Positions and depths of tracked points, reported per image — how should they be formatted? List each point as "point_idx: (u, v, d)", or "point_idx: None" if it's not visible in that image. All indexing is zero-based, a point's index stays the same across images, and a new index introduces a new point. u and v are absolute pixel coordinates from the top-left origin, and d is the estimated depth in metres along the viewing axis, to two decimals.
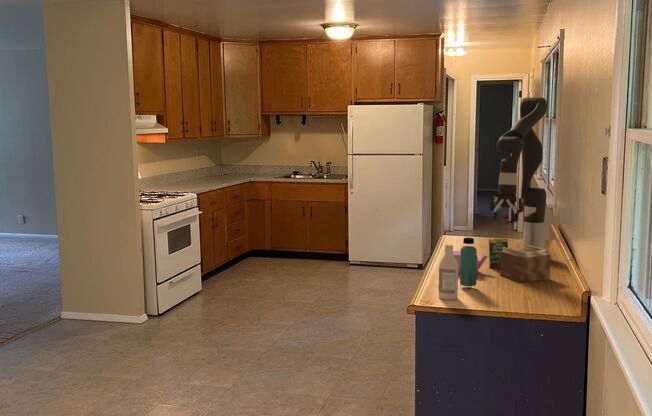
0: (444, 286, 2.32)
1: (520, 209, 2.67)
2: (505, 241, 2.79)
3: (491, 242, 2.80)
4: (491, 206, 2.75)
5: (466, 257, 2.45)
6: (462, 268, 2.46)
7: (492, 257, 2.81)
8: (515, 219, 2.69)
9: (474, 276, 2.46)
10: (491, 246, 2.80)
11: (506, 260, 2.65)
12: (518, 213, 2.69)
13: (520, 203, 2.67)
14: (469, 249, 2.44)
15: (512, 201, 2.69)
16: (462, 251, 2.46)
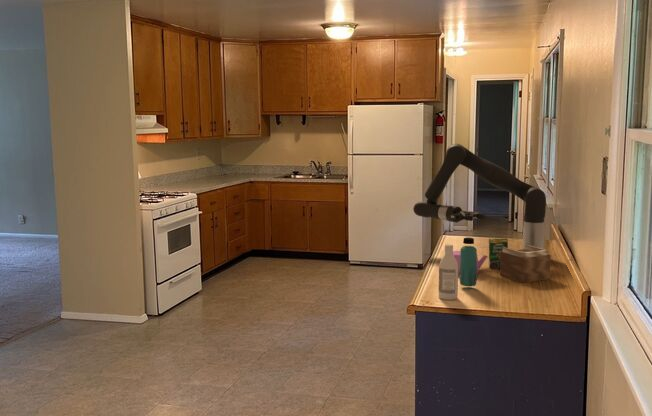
0: (444, 286, 2.32)
1: (459, 220, 2.88)
2: (505, 241, 2.79)
3: (491, 242, 2.80)
4: (475, 217, 2.97)
5: (466, 257, 2.45)
6: (462, 268, 2.46)
7: (492, 257, 2.81)
8: (469, 220, 2.86)
9: (474, 276, 2.46)
10: (491, 246, 2.80)
11: (506, 260, 2.65)
12: (464, 217, 2.88)
13: None
14: (469, 249, 2.44)
15: (458, 218, 2.93)
16: (462, 251, 2.46)
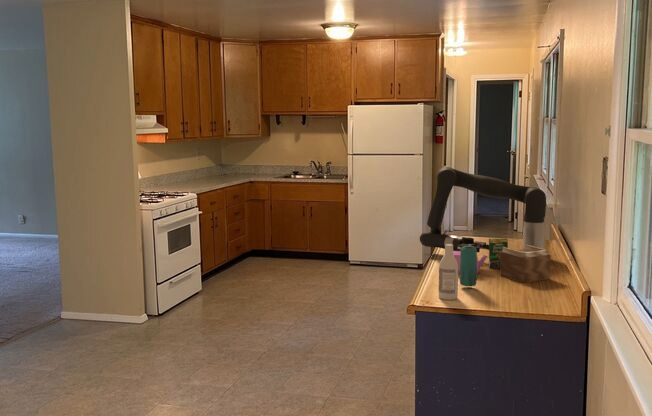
0: (444, 286, 2.32)
1: None
2: (505, 241, 2.79)
3: (491, 242, 2.80)
4: None
5: (466, 257, 2.45)
6: (462, 268, 2.46)
7: (492, 257, 2.81)
8: None
9: (474, 276, 2.46)
10: (491, 246, 2.80)
11: (506, 260, 2.65)
12: None
13: None
14: (469, 249, 2.44)
15: None
16: (462, 251, 2.46)
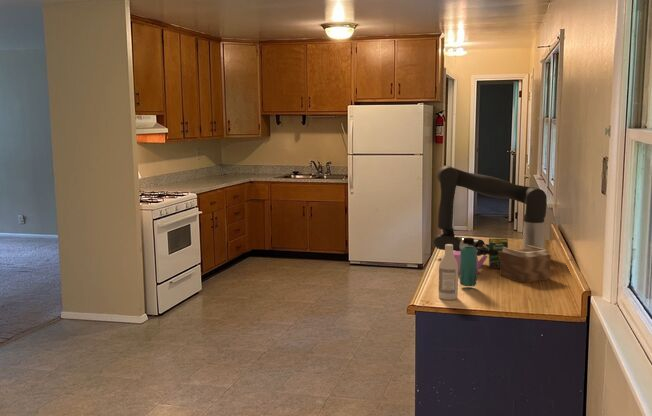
0: (444, 286, 2.32)
1: (483, 254, 2.80)
2: (505, 241, 2.79)
3: (491, 242, 2.80)
4: None
5: (466, 257, 2.45)
6: (462, 268, 2.46)
7: (492, 257, 2.81)
8: (494, 254, 2.78)
9: (474, 276, 2.46)
10: (491, 246, 2.80)
11: (506, 260, 2.65)
12: (488, 252, 2.80)
13: (478, 253, 2.82)
14: (469, 249, 2.44)
15: (481, 252, 2.85)
16: (462, 251, 2.46)
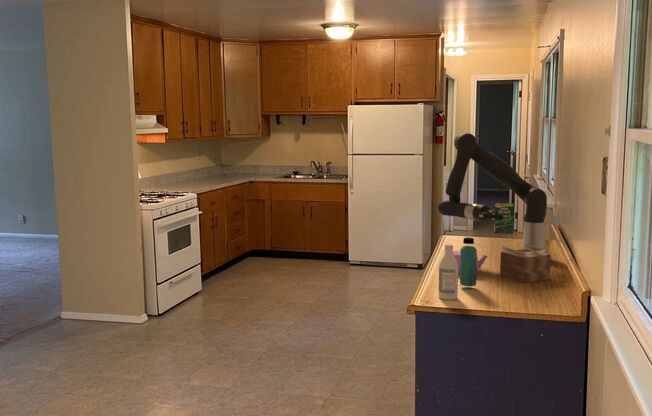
0: (444, 286, 2.32)
1: None
2: (511, 205, 2.74)
3: (496, 206, 2.75)
4: None
5: (466, 257, 2.45)
6: (462, 268, 2.46)
7: (497, 222, 2.76)
8: (499, 219, 2.73)
9: (474, 276, 2.46)
10: (496, 211, 2.75)
11: (506, 260, 2.65)
12: (494, 216, 2.74)
13: (483, 218, 2.77)
14: (469, 249, 2.44)
15: (486, 217, 2.80)
16: (462, 251, 2.46)
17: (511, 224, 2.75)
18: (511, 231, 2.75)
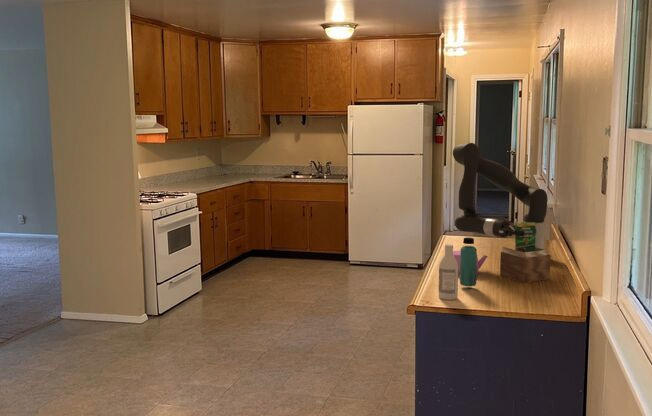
0: (444, 286, 2.32)
1: (508, 235, 2.62)
2: (533, 225, 2.61)
3: (517, 226, 2.62)
4: None
5: (466, 257, 2.45)
6: (462, 268, 2.46)
7: (518, 242, 2.63)
8: (520, 235, 2.60)
9: (474, 276, 2.46)
10: None
11: (506, 260, 2.65)
12: (514, 233, 2.61)
13: (503, 234, 2.64)
14: (469, 249, 2.44)
15: None
16: (462, 251, 2.46)
17: (533, 244, 2.62)
18: None
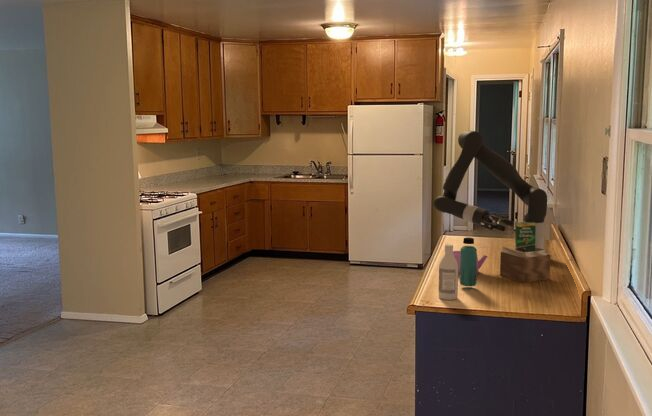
0: (444, 286, 2.32)
1: None
2: (533, 225, 2.61)
3: (517, 226, 2.62)
4: None
5: (466, 257, 2.45)
6: (462, 268, 2.46)
7: (518, 242, 2.63)
8: None
9: (474, 276, 2.46)
10: (517, 230, 2.63)
11: (506, 260, 2.65)
12: (495, 227, 2.73)
13: None
14: (469, 249, 2.44)
15: None
16: (462, 251, 2.46)
17: (533, 244, 2.62)
18: None
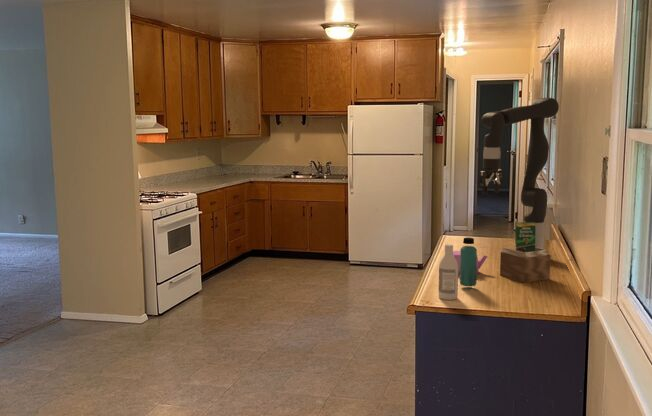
0: (444, 286, 2.32)
1: None
2: (533, 225, 2.61)
3: (517, 226, 2.62)
4: None
5: (466, 257, 2.45)
6: (462, 268, 2.46)
7: (518, 242, 2.63)
8: None
9: (474, 276, 2.46)
10: (517, 230, 2.63)
11: (506, 260, 2.65)
12: (483, 185, 2.84)
13: None
14: (469, 249, 2.44)
15: None
16: (462, 251, 2.46)
17: (533, 244, 2.62)
18: None
